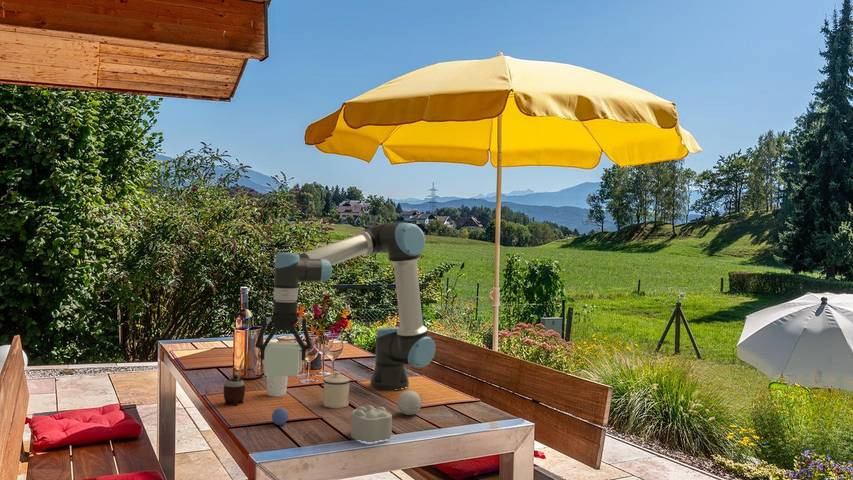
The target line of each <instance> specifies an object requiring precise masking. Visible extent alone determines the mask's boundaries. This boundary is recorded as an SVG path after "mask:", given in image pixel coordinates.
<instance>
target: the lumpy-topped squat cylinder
mask: <svg viewBox="0 0 853 480" xmlns="http://www.w3.org/2000/svg"><path fill="white" fill-rule="evenodd" d="M351 412H352V413H351V431H350V432H351V433H350V434H351V435H350V437H352V438H355V439H357V440H361V441H366V442H375V441H379V440H385V439H390V438H391V439H392V433H393V432H392V431H393V429H392V428H393V427H392V426H393V415H392V413H390V412H388V411H387V410H386V408H385V407H384V406H378V407H374V406H373V405H372V404H368V405H366V406H362V405H360V406H359V407H357V408H355V409H353V410H352V411H351ZM352 438H351V439H352Z"/></svg>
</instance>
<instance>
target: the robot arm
mask: <svg viewBox="0 0 853 480" xmlns="http://www.w3.org/2000/svg"><path fill="white" fill-rule="evenodd" d="M425 238H426V237H425V234H424V232H423V230H422V229H421V228H420V227H419V226H418V225H417V224H414V223H409V222H383V223H382V222H381V223H379V224H376V225H373V226H370V227H367V228H365V229H362V230H359V231H358V232H357V234H356V235H353V236H350V237H347V238H345V239H344V238H343V239H341V240H337V241H334V242H332V243H329V244H326V245H324V246H323V245H322V246H320V247H317V248H314V249H311V250H309V251H306V252H302V253H300V254H299V253H298V252H278V253H276V254H275V259H274V265H273V266H274V275H273V276H274V278H273V279H274V280H273V281H274V282H273V283H274V284H273V285H274V287H273V300H274V301H273V304H272V305H273V306H272V316H268V317H267V316H263V317H262V325H261V328H260V331H259V333H258V337H257V339H256V342H255V346H254V347H255V348H258V349H260V360H263V370H264V369H265V347H266V346H267V345H268V344H269V342H271V340H272V339H273V338H274V335H275V334H276V332H277V331H291V333H292V335H293V336H294V338H295V340H296V343H298V344H299V345H300V347H301V349H300V351H299V372H302V368H303V361H306V358H307V357H306V355H307V350H310V349H312V346H313V345H312V344H313V343H312V341H311V338H310V333H309V330H308V326H307V323H308V322H307V320H308V319H307V317H299V316H298V302H297V300H298V299H299V297H298V295H299V283H311V282H312V283H313V282H315V283H321V282H328V281H329V280H330V278H331V276H332V274H333V267H332V266H333V265H337V264H340V263H342V262H345V261H348V260H350V259H354V258H357V257H358V256H361V255H364V256H370V255H372V254H387V255H388V261H389V262H390V263H391V264H392V265H393V270H394V281H395V290H396V300H397V301H396V302H397V310H398V318H399V326H396V327H383V328H382V327H381V328H378V329H377V331H376V336H375V361H374V362H375V364H374V370H373V372H372V375H371V377H370V380H369V381H370V383H369V386H370V387H371V388H372V389H375V390H378V389H379V390H380V391H388V390H394V391H396V390H395V389H401V388H405V387H408V386H410V385H409V384H410V381H409V376H408V372H407V370H406V366H410V367H413V368H424V367H426V366H428V365H429V364H430V363H431V361H432V360H433V359H434V356H435V353H436V343H435V341H434V339H433V338H431V337H430V336H429V333H428V328H427V326H425V325H424V324H423V314H422V313H423V311H422V303H421V302H422V301H421V295H420V294H421V293H420V292H421V291H420V281H419V273H418V261H419V260H420V259H421V253H423V250H424V248H425V245H426V239H425ZM271 322H272V323H273V325H274V326H273V328H272V330H271V332H270V333H269V334H268V336H267V337H266V339H265V340H264V341H263V339H264V335H265V332H266V330H267V327H268V325H269V324H270V323H271ZM297 323H299V324H300V326H301V329H302V331H303V335H304V339H305V343H306V344H305V343H304V341H303V339H302V337H301V336H300V333H299V332H298V330H297V328H296V326H295V325H297ZM262 341H263V343H262ZM408 388H409V387H408Z"/></svg>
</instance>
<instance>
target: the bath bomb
mask: <svg viewBox="0 0 853 480" xmlns="http://www.w3.org/2000/svg"><path fill="white" fill-rule="evenodd" d="M397 407H398V410H399V411H400V412H401V413H402V414H404V415H405V416H413V415H416V414H417V413H418V412H419V411H420V409H421V407H422V399H421V396H420V395H419V394H418V393H417V392H416V391H414V390H405V391H403V392H402V393H401V394H400V395H399V396H398V398H397Z"/></svg>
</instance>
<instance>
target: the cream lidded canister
mask: <svg viewBox="0 0 853 480" xmlns="http://www.w3.org/2000/svg"><path fill="white" fill-rule="evenodd" d="M350 382H351V380H350V378H349V377H347V376H346V375H345V376H344V375H343V374H341V372H340V371H337V370H336V371H334V372H333V374H331V375H329V376H326V377H324V379H323V406H324V407H326V408H329V409H341V408H347V407H348V406H349V403H350V400H349V398H350Z"/></svg>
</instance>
